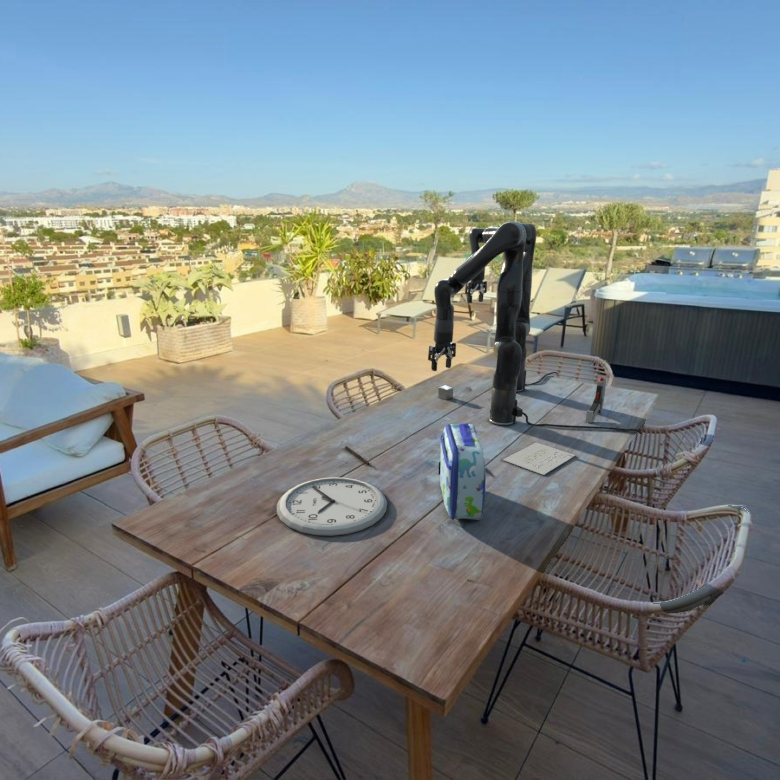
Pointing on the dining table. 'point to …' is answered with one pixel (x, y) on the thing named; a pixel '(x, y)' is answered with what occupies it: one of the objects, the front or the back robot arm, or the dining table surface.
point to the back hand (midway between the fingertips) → (475, 302)
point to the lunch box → (462, 472)
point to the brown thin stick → (357, 455)
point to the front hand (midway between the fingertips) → (441, 369)
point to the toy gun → (597, 401)
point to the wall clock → (331, 506)
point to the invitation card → (539, 458)
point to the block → (445, 392)
